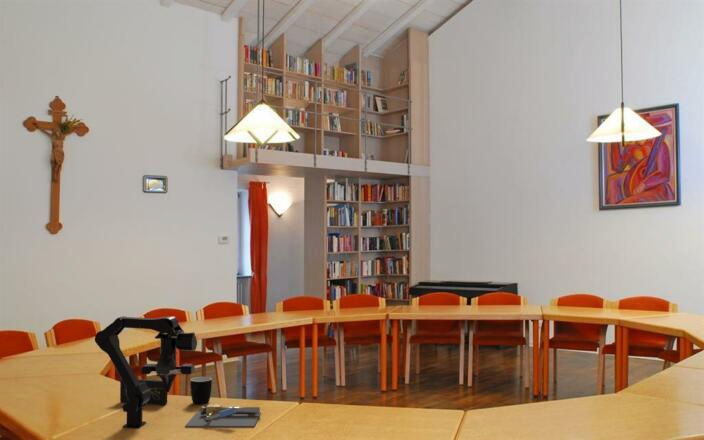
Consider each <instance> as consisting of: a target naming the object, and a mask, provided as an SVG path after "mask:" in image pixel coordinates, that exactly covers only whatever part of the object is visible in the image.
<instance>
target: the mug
mask: <svg viewBox="0 0 704 440" xmlns="http://www.w3.org/2000/svg"><path fill="white" fill-rule="evenodd" d="M212 380H213V379H212V377H209V376H196V377H192V378H191V379H190V384H189V385H190V397H191V401H192V403H193V404H194V405H199V406H201V405H202V406H203V405H206V404H207V405H208V403H209V402H210V399H211V394H212V388H213V387H212V384H213V381H212Z"/></svg>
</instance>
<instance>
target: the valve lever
mask: <svg viewBox="0 0 704 440" xmlns="http://www.w3.org/2000/svg"><path fill="white" fill-rule="evenodd" d="M231 407H232V408H229V409H226V410H223V411H220V412H219V414H216V415H213V416H206V417H205V419H204V420H205V422H209V421H210V419H213V418H217V417H220V418H222V417H225V416H228V415H231V414H234V413H236V409H235V407H236V406H231Z"/></svg>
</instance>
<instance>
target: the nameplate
mask: <svg viewBox="0 0 704 440" xmlns="http://www.w3.org/2000/svg"><path fill="white" fill-rule="evenodd" d="M137 379H138V378H137ZM138 381H140V382H141V383H143V382H146V383H147V386H148V388H149V389H150V390H151V391H150V394H151V396H150V399H149V401H148V402H146V405H152V406H153V405H154V406H165V405H167V404H168V392H166V389H165V386H164V383H163V381H162V379H161V380H160V379H159V380H158V379H156V380H155V379H140V378H139V379H138ZM119 388H120V390H119V391H120V394H119V400H120V403H121V404H125V403H126V402H127V401H128V398H127V393H126V386H125V384H124V382H123V381H122V379H121V380H120V387H119Z"/></svg>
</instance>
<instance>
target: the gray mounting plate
mask: <svg viewBox="0 0 704 440" xmlns="http://www.w3.org/2000/svg"><path fill="white" fill-rule="evenodd" d="M261 415H262V412H261V411H260V414H255V416H254V417H248V414H233V415H232V417H222V418H220V417H217V418H213V419H210V421H209V422H205V420H204V419H205V417H206V414H204V415H201V414H200V411H197V412H195V413H194V415H193V416H192V417H191V418H190V419H189V420H188V422H187V423H186V424H185V425H184V428H230V429H231V428H238V429H239V428H244V429H245V428H246V429H247V428H250V429H251V428H255V427H256V425H257V423H258V421H259V419H260V417H261Z"/></svg>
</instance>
